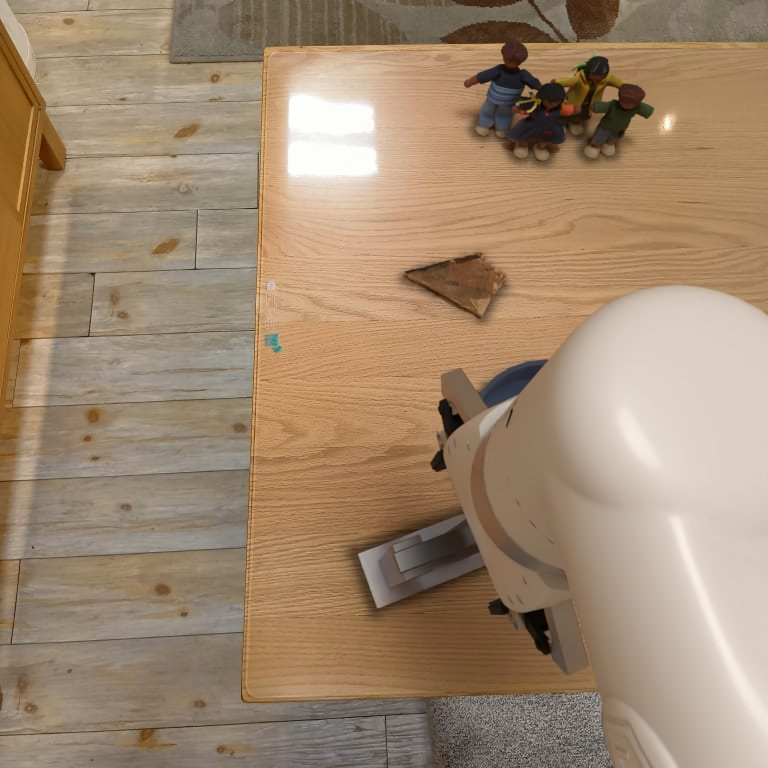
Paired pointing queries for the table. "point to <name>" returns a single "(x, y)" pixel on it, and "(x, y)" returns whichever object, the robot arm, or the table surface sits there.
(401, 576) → the stick stand
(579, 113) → the doll family
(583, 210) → the table surface
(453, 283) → the shard
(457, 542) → the stirring stick
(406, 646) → the table surface
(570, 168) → the table surface
